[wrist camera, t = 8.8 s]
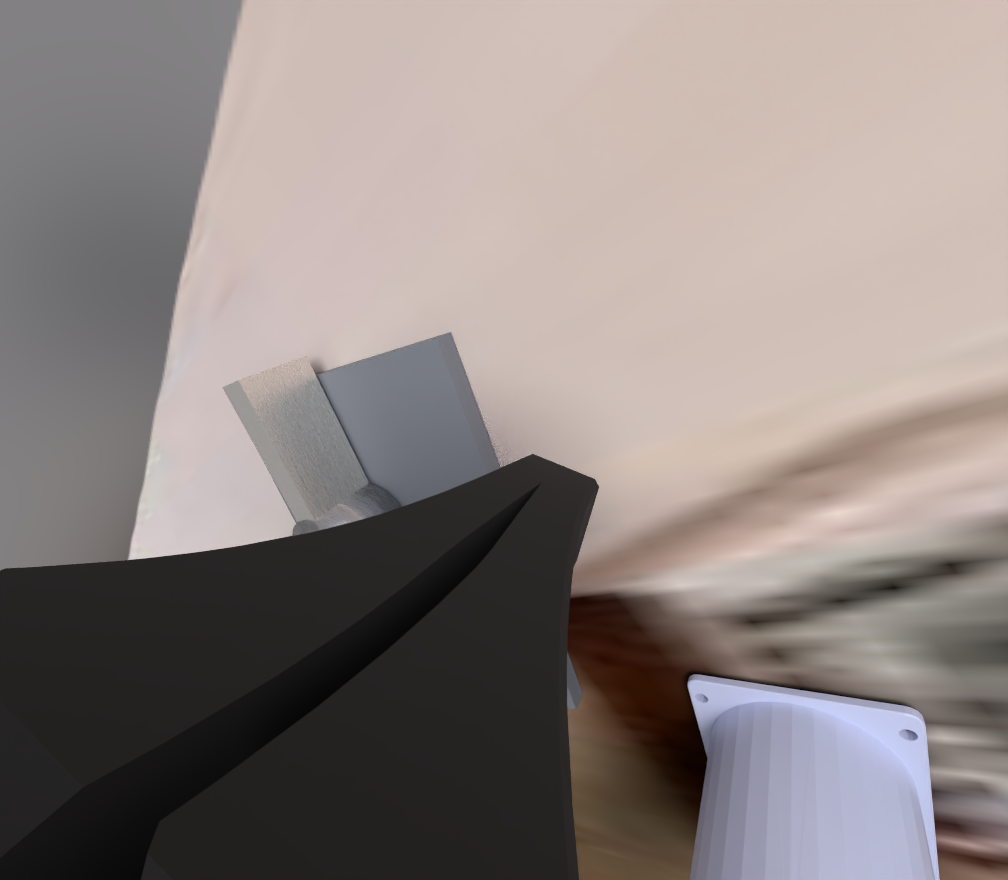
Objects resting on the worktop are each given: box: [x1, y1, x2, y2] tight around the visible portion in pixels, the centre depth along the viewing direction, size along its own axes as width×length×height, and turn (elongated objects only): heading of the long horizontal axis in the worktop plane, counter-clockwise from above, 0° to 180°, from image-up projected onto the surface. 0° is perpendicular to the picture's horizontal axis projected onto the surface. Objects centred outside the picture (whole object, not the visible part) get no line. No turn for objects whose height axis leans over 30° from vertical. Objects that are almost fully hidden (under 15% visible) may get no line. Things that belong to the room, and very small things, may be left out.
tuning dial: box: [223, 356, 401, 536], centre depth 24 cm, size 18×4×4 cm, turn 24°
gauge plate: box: [267, 332, 583, 710], centre depth 27 cm, size 20×16×1 cm
